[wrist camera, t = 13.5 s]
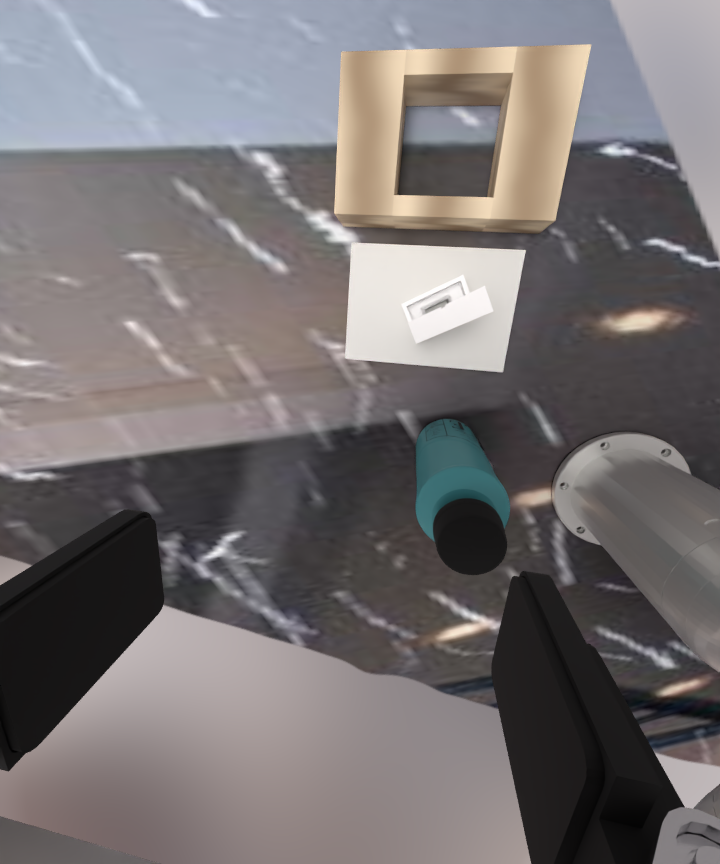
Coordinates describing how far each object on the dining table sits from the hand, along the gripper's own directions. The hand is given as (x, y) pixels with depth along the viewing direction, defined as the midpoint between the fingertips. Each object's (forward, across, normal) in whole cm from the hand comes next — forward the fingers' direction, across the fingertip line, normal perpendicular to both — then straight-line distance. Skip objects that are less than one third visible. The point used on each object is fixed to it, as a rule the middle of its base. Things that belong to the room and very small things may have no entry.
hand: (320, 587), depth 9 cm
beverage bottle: (+31, -6, +5) cm, 31 cm away
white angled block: (+30, -3, -8) cm, 31 cm away
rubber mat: (+30, -2, -8) cm, 32 cm away
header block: (+30, -2, -21) cm, 37 cm away
